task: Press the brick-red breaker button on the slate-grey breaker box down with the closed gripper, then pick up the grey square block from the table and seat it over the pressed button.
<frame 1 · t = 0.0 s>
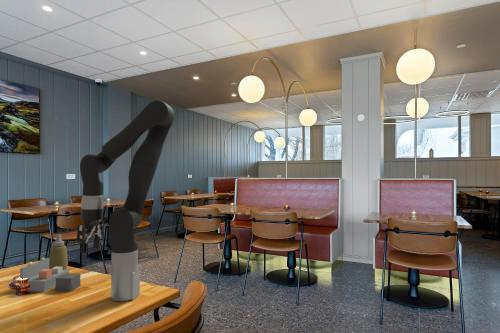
hand: (90, 250, 118), 17 cm above the table, tool pointing down, fingers open, 8 cm apart
squeeze bottle: (58, 273, 147), on the table
breaker box: (45, 284, 130), on the table
grey square block: (68, 288, 126), on the table
breaker button: (45, 275, 127), point 5 cm above the table, slide at 0.0 cm
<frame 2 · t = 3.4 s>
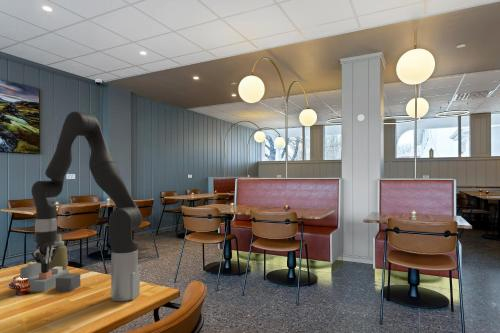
hand: (45, 272, 127), 6 cm above the table, tool pointing down, fingers closed
breaker button: (45, 277, 127), point 4 cm above the table, slide at 0.9 cm, touching gripper
everything else where it was.
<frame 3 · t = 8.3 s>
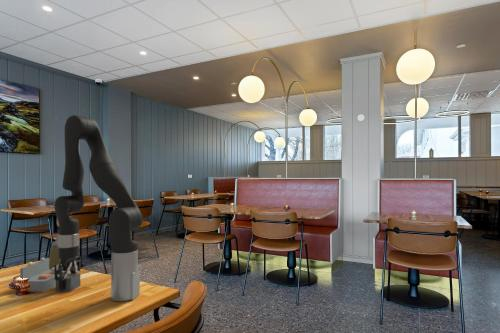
hand: (68, 286, 126), 1 cm above the table, tool pointing down, fingers closed on grey square block, 6 cm apart
grey square block: (68, 288, 126), on the table, touching gripper
breaker button: (45, 279, 127), point 3 cm above the table, slide at 1.9 cm
everything else where it was.
when the fingers open (6 cm above the table, at t = 13.0 s): grey square block drops 1 cm, resting on breaker box.
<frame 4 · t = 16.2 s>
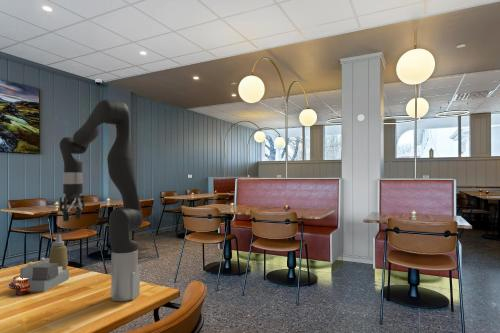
hand: (72, 219, 137), 26 cm above the table, tool pointing down, fingers open, 8 cm apart
grey square block: (45, 277, 127), point 4 cm above the table, touching breaker box
everything else where it was.
at the end: breaker button slide at 1.9 cm; grey square block 0.1 cm from the target spot on the breaker box, point 4.0 cm above the breaker box's base; grey square block tilted 0° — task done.
